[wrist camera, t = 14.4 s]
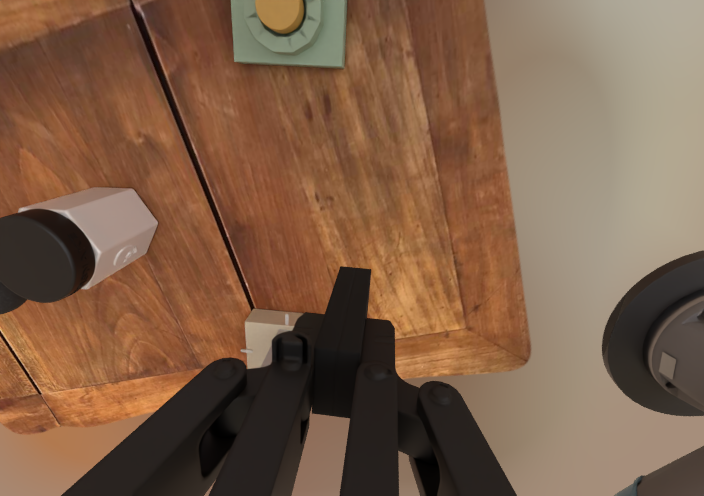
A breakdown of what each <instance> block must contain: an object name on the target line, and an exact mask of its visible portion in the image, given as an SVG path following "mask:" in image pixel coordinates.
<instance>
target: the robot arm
mask: <svg viewBox="0 0 704 496" xmlns="http://www.w3.org/2000/svg"><path fill="white" fill-rule="evenodd" d="M370 278H371V269H362V268H352V267H342V266H340V270H339V273H338V276H337V279H336V282H335V285H334V288H333V291H332V294H331V297H330V300H329V303H328V306H327V309H326V312H325V314H316V313H307V312H305V313H304V314H303V315H301V316H300V317H299V318H298V319H297V321H296V323H295V325H294V327H293V330H292V331H287V332H282V333H280V334H278V335H276V336H275V337H274V338H273V339H272V362H271V364H270V365H268V366H265V367H260V368H252V369H246V365H245V363H244V362H243V361H241V360H239V359H236V358H222V359H219V360H216V361H214V362H212V363H211V364H209V365H208V366H207V367H206V368H204V369H203V370H202V371H201V372H200V373H199V374H198V375H197V376H195V377H194V378H193V379H192V380H191V381H190V382H189V383H188V384H186V385H185V386H184V387H183V388H182V389H181V390H180V391H178V392H177V393H176V394H175V395H174V396H173V397H172V398H171V399H169V400H168V401H167V402H166V403H165V404H164V405H163V406H162V407H160V408H159V409H158V410H157V411H156V412H155V413H154V414H153V415H151V416H150V417H149V418H148V419H147V420H146V421H145V422H144V423H143V424H141V425H140V426H139V427H138V428H137V429H136V430H135V431H133V432H132V433H131V434H130V435H129V436H128V437H127V438H126V439H124V440H123V441H122V442H121V443H120V444H119V445H118V446H116V447H115V448H114V449H113V450H112V451H111V452H110V453H109V454H108V455H106V456H105V457H104V458H103V459H102V460H101V461H100V462H98V463H97V464H96V465H95V466H94V467H93V468H92V469H91V470H89V471H88V472H87V473H86V474H85V475H84V476H83V477H82V478H80V479H79V480H78V481H77V482H76V483H75V484H74V485H73V486H72V487H71V488H69V489H68V490H67V491H66V492H65V493H63V494H62V495H61V496H204V495H205V493H206V492H207V491H208V489H209V488H210V487H211V485H212V484H213V483H214V481H215V480H216V481H215V483H214V485H213V487H212V489H211V491H210V494H209V496H291V495H292V491H293V487H294V483H295V479H296V475H297V471H298V467H299V463H300V460H301V456H302V451H303V448H304V444H305V440H306V436H307V432H308V429H309V415H310V411H311V407H312V413H314V414H321V415H329V416H337V417H345V418H350V424H349V432H348V439H347V446H346V453H345V460H344V467H343V476H342V482H341V489H340V496H399V479H398V478H399V475H398V474H399V472H398V451H401V452H403V453H405V454H407V455H409V461H410V464H411V467H412V471H413V474H414V477H415V480H416V484H417V487H418V490H419V493H420V496H517V495H516V493H515V491H514V490H513V488H512V486H511V484H510V482H509V481H508V479H507V477H506V475H505V473H504V472H503V470H502V468H501V466H500V464H499V463H498V461H497V459H496V457H495V455H494V454H493V452H492V450H491V449H490V447H489V445H488V443H487V441H486V439H485V438H484V436H483V434H482V432H481V430H480V429H479V427H478V425H477V423H476V421H475V420H474V418H473V416H472V414H471V412H470V411H469V409H468V407H467V405H466V404H465V402H464V400H463V398H462V396H461V395H460V393H459V392H458V391H457V390H456V389H455V388H453V387H452V386H451V385H449V384H446V383H443V382H439V381H430V382H426V383H424V384H423V385H422V386H421V387H420V388H418V387H416V386H413V385H410V384H408V383H406V382H405V381H404V380H402V379H401V378H400V377H399V376H398V374H397V372H396V369H395V328H394V326H393V325H392V323H391V322H390V321H389V320H380V319H370V318H367V311H368V300H369V289H370ZM643 361H644V364H645V367H646V369H647V370H648V372H649V373H650V375H651V376H652V377H653V378H654V379H655V380H656V381H657V382H658V383H659V384H660V385H661V386H662V387H663V388H664V389H665V390H666V391H668V392H669V393H671V394H672V395H674V396H676V397H677V398H679V399H681V400H683V401H685V402H687V403H689V404H690V405H692V406H694V407H696V408H698V409H700V410H702V411H703V412H704V289H702V290H699V291H696V292H694V293H692V294H689V295H687V296H685V297H683V298H682V299H680V300H678V301H677V302H675V303H674V304H672V305H671V306H670V307H668V308H667V309H666V310H665V311H664V312H663V313H662V314H660V315H659V317H658V318H657V319H656V320H655V321H654V323H653V324H652V325H651V327H650V329H649V330H648V332H647V335H646V337H645V340H644V344H643ZM614 496H704V446H703V447H701V448H699V449H697V450H695V451H693V452H691V453H689V454H687V455H686V456H683V457H681V458H679V459H677V460H675V461H673V462H672V463H670V464H668V465H666V466H664V467H662V468H660V469H658V470H656V471H654V472H652V473H650V474H648V475H646V476H640V477H638V478H637V479H636V480H635V481H634V483H633V484H632V485H630V486H628V487H627V488H625V489H623V490H622V491H620V492H618V493H617V494H615V495H614Z"/></svg>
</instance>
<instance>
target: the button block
mask: <svg viewBox="0 0 704 496" xmlns="http://www.w3.org/2000/svg"><path fill="white" fill-rule="evenodd" d="M303 4H304V15H303V19H302V22H301V24H300V25H299V26H298V28H297V29H296V30H294V31H293V32H290V33H287V34H281V33H277V32H275V31H273V30H272V29H270V28H269V27H267V26H266V25H265V24H264V23H263V22H262V21H261V20H260V18H259V16H258V14H257V11H256V6H255V0H231V12H232V30H233V48H234V61H235V62H238V63H242V64H262V65H281V66H301V67H320V68H339V69H344V64H345V40H346V16H347V0H303Z"/></svg>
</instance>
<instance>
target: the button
mask: <svg viewBox="0 0 704 496" xmlns="http://www.w3.org/2000/svg"><path fill="white" fill-rule="evenodd" d="M255 6H256V11H257V14H258V16H259V18H260V20H261V21H262V22H263V23H264V24H265V25H266V26H267V27H269V28H270V29H272V30H273V31H275V32H277V33H281V34H287V33H290V32H293V31H294V30H296V29H297V28H298V26H299V25H300V24H301V22H302V19H303V15H304V4H303V0H255Z"/></svg>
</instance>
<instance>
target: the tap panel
mask: <svg viewBox="0 0 704 496" xmlns="http://www.w3.org/2000/svg"><path fill="white" fill-rule="evenodd" d="M303 314H304V313H295V312H285V311H274V310H264V309H253V310H252V311H251V313H250V314H249V316H248V318H247V319H246V321H245V334H246V349H241V352H247V366H248V369H252V368H260V367H261V365H262V363H263V361H264V359H265V357H266V355H267V353H268V351H269V349H270V347H271V345H272V339H273V338H274V337H275V336H276V334H277V332H278V330H279V329H283V330H293V327H294V325H295V323H296V321H297V319H298V318H299V317H300V316H301V315H303Z"/></svg>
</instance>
